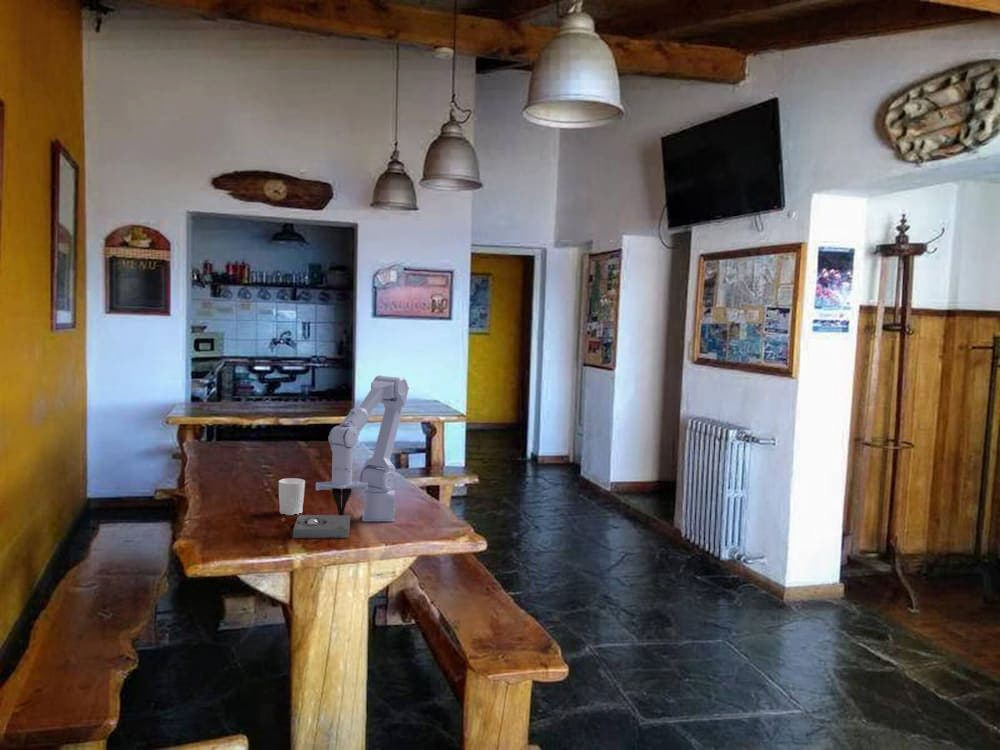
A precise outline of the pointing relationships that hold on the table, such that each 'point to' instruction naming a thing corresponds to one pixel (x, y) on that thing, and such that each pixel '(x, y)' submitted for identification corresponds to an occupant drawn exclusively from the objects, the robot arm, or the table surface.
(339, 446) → the robot arm
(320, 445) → the table surface
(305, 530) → the hole plate
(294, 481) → the white cup
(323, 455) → the table surface
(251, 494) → the table surface
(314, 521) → the steel ball
